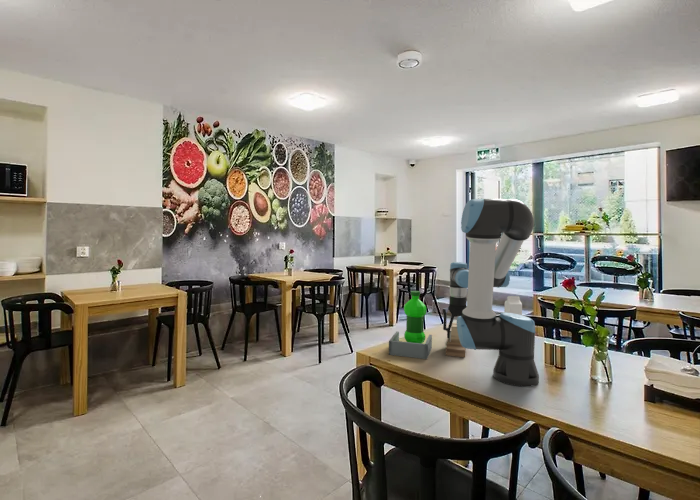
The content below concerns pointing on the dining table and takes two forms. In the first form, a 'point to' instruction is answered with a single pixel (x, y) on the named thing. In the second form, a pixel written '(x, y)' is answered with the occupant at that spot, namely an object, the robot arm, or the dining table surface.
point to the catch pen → (409, 347)
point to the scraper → (455, 344)
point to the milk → (513, 305)
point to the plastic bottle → (415, 319)
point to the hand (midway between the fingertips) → (456, 346)
